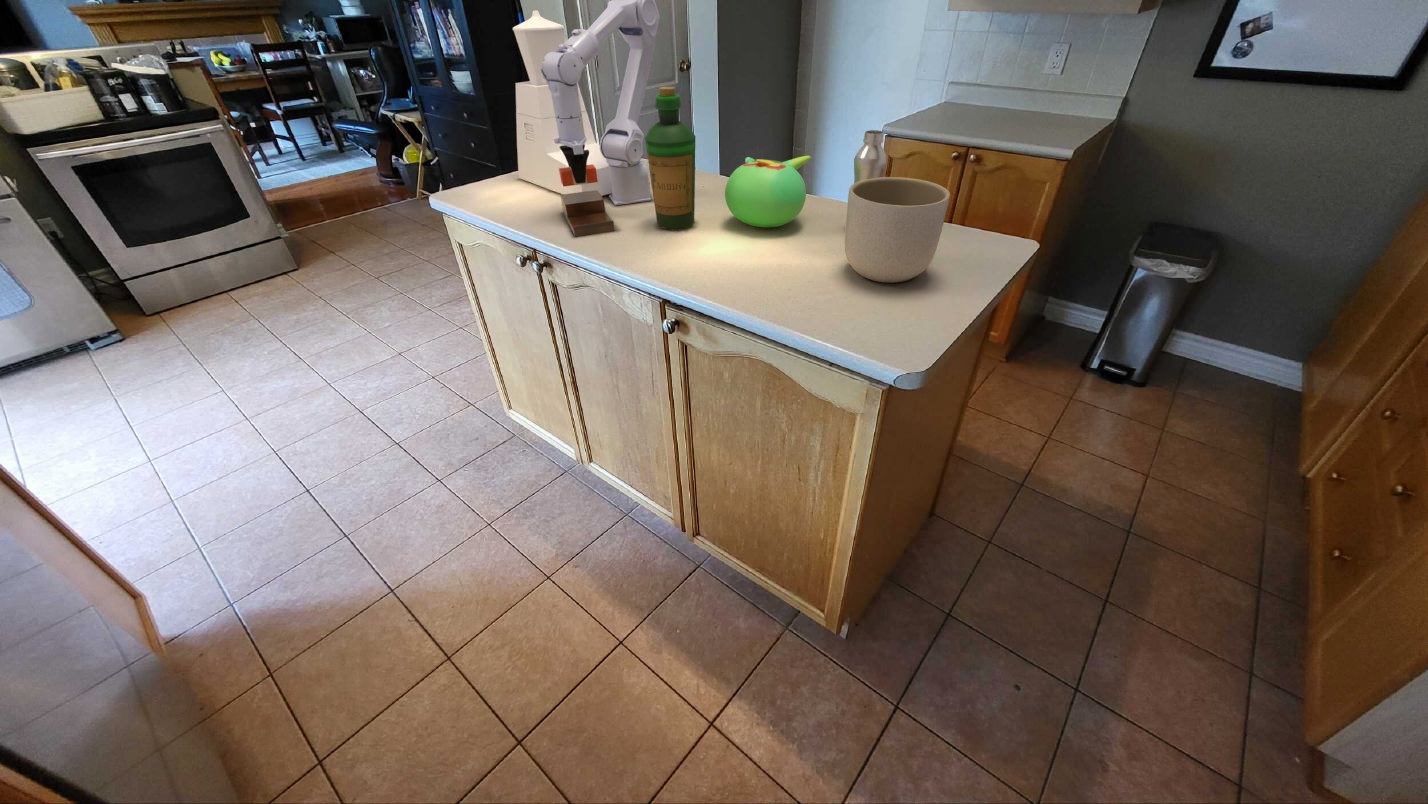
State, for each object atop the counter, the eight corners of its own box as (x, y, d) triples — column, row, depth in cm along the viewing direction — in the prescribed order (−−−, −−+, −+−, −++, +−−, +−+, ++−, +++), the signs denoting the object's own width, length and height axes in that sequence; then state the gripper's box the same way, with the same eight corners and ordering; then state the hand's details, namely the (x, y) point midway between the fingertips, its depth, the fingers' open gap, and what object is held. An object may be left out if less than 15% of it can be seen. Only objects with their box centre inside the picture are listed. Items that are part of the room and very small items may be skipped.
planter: (874, 247, 118) (886, 171, 109) (949, 272, 108) (969, 190, 98) (821, 271, 109) (829, 191, 100) (897, 301, 99) (914, 213, 90)
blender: (640, 187, 155) (622, 10, 131) (583, 204, 145) (552, 15, 121) (573, 166, 174) (547, 7, 150) (519, 179, 164) (481, 12, 140)
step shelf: (599, 208, 142) (597, 190, 139) (614, 230, 129) (612, 211, 126) (563, 213, 140) (560, 194, 137) (575, 236, 127) (571, 216, 124)
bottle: (643, 228, 130) (630, 90, 113) (668, 214, 137) (658, 82, 120) (684, 236, 126) (676, 93, 109) (707, 220, 133) (702, 85, 116)
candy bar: (595, 178, 135) (592, 164, 133) (597, 182, 133) (595, 168, 131) (561, 182, 133) (558, 168, 131) (563, 186, 131) (560, 172, 129)
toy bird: (714, 231, 128) (712, 162, 119) (743, 208, 140) (743, 144, 131) (790, 242, 121) (794, 170, 112) (813, 217, 133) (819, 150, 125)
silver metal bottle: (877, 235, 123) (892, 136, 111) (845, 234, 124) (857, 135, 112) (876, 225, 128) (891, 129, 116) (846, 223, 129) (857, 128, 117)
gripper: (546, 112, 129) (557, 174, 137) (554, 124, 118) (566, 191, 126) (577, 109, 131) (586, 170, 139) (588, 121, 120) (598, 187, 128)
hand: (579, 180), depth 133 cm, fingers closed on candy bar, 3 cm apart
